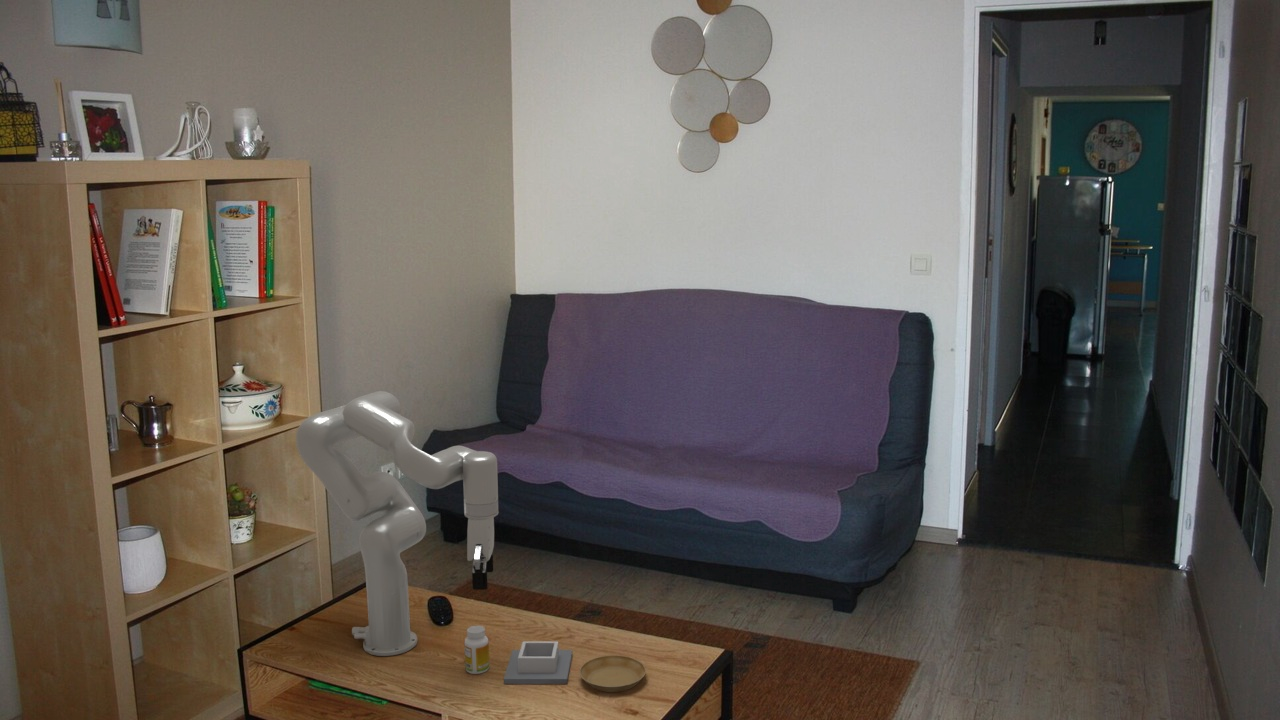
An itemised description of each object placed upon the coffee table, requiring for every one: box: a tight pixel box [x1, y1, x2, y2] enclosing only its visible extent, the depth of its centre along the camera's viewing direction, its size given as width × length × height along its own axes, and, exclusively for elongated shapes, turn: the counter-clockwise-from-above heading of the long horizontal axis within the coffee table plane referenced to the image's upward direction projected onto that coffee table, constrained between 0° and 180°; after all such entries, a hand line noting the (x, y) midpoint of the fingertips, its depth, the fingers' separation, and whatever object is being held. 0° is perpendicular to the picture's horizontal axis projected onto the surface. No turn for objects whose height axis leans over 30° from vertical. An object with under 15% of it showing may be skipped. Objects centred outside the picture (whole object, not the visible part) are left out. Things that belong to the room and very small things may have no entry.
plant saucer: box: [578, 654, 647, 693], centre depth 228 cm, size 15×15×3 cm
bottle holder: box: [503, 640, 573, 685], centre depth 233 cm, size 14×14×5 cm
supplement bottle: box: [464, 625, 490, 675], centre depth 233 cm, size 5×5×10 cm
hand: (483, 580), depth 231 cm, fingers open, 9 cm apart
